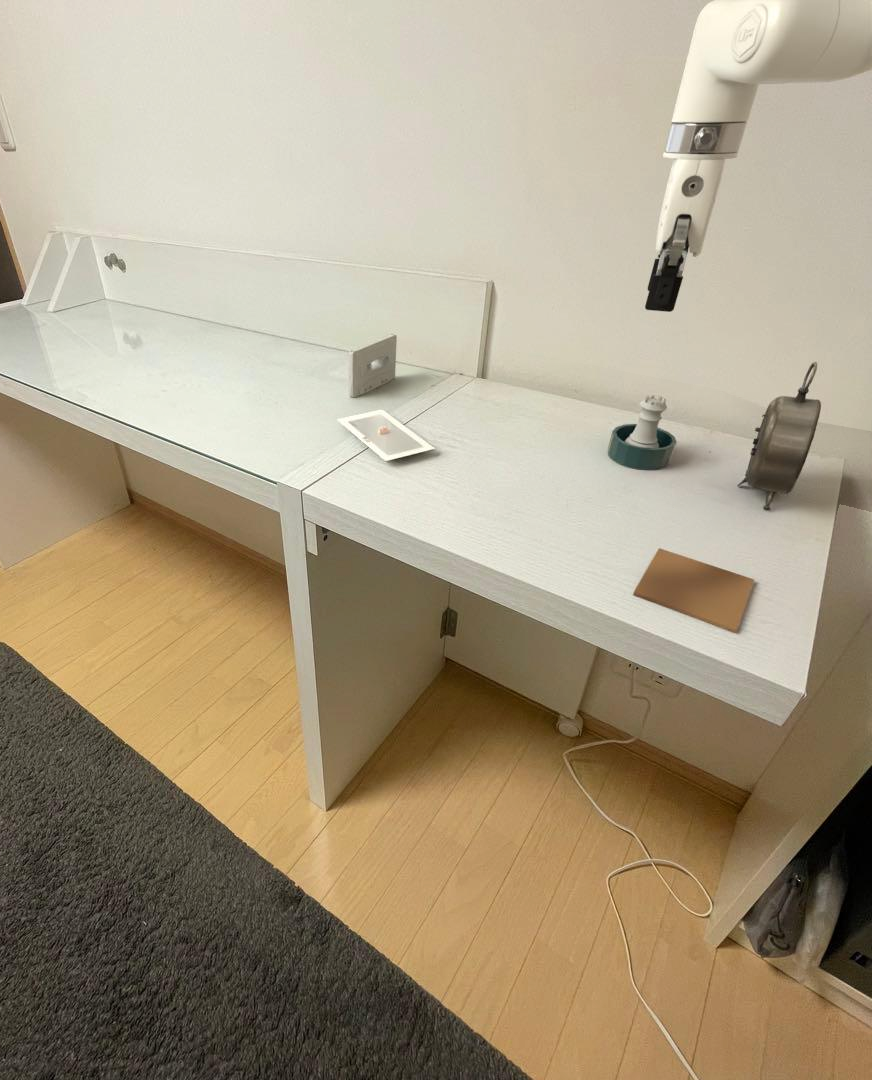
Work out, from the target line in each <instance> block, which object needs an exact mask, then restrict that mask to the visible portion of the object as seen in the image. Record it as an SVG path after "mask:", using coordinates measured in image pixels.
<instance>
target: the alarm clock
mask: <svg viewBox="0 0 872 1080" xmlns="http://www.w3.org/2000/svg"><path fill="white" fill-rule="evenodd" d="M817 370H818V362H817V361H813V362H812V363H811V364H810V366H809V368H808V369H807V371H806V374H805V376H804V379H803V381H802V386H800V387H799V388H798V389H797V395H796V396H787V395H780V396H777V397H776V398H774V399H773V400H771V402H770V403H769V404H768V406H767V408H766V411H765V413H764V414H762V415H761V418H762V421H761V424H760V426H759V427H756V428H755V429H754V431H755V432H757V436H756V438H753V441H752V445H753V447H752V448H751V450H750V459H749V460H748V461H749V462H748V465H747V469H746V471H745V475H744V476H745V477H744V479H743V480H742V481H741V482H739V483H738V484H737V487H740V486H742V485H743V484H745V483H747V485H748V486H749V487H750V488H752V489H756V490H761V491H764V492H765V491H766V497H765V505H763V506H762V509H763V510H764V511H770V509H771V507H770V506H771V505H772V503H773V501H774V497H775V495H777V494H782V495H789V494H790V493H791V492H792V491H793V489H794V487H795V485H796V483H797V481H798V479H799V477H800V474H801V473H802V471H803V467H804V466H805V463H806V461H807V457H808V455H809V453H810V449H811V446H812V443H813V440H814V438H815V434H816V431H817V426H818V422H819V418H820V415H821V409H822V402H821V400H820V399H816V398H815V399H814V398H806V397H807V396H806V395H807V394H809V391H810V390H809V387H810V385H811V384H812V382H813V380H814V378H815V375H816V373H817ZM809 376H810V377H809ZM808 378H809V379H808Z"/></svg>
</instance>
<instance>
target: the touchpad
mask: <svg viewBox="0 0 872 1080" xmlns="http://www.w3.org/2000/svg"><path fill="white" fill-rule="evenodd" d="M336 420H337V421H338V422H339V423H340V424H341V425H342V426H343V427H344V428H346V429H347V430H348V431H349V432H350V433H352V434H353V435H354V436H355V437H356V438H357V439H359V440H360V441H361V442H362V443H363V444H364V445H366V446H367V447H368V448H369V449H370V450H372V452H374V453H375V454H376V455H377V456H378V457H380V458H381V459H382V460H383V461H384V462H389V461H392V460H395V459H400V458H404V457H408V456H412V455H416V454H419V453H424V452H427V451H428V452H429V451H432V450H435V449H436V448H435V447H434V446H432V445H431V444H430V443H428V442H427V441H426V440H424V439H423V438H422V437H420V436H419V435H417V434H416V433H415V432H413V431H412V430H411V429H409V428H408V427H407V426H405V425H404V424H403V423H401V422H400V421H399V420H397V419H396V418H395V417H393V416H392V415H391V414H389V413H388V412H387V411H386V410H383V409H379V410H374V411H369V412H364V413H359V414H355V415H351V416H345V417H341V418H337V419H336Z"/></svg>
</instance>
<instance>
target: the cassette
mask: <svg viewBox="0 0 872 1080" xmlns="http://www.w3.org/2000/svg"><path fill="white" fill-rule="evenodd" d="M397 339H398V336H397V335H396V334H395V333H394V334H393V333H391V334H388V335H386V336H384V337H381V338H379V339H376V340H373V341H371V342H368V343H366V344H364V345H361V346H359V347H357V348H354V349H352V350H349V352H348V396H349V398H356V397H358V396H362V395H365V394H367V393H369V392H371V391H373V390H375V389H378V388H379V387H381V386H384V385H386V384H388V383H390V382H391V380H394V379H395V378H396V370H397V369H396V366H397V365H396V364H397V342H398V341H397ZM373 362H374V364H372V363H373Z"/></svg>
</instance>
